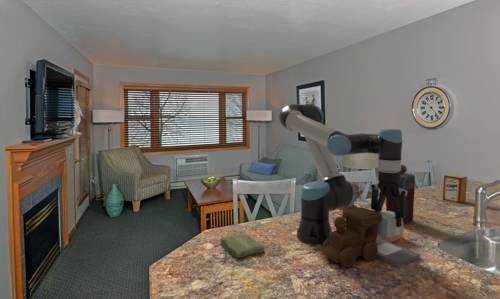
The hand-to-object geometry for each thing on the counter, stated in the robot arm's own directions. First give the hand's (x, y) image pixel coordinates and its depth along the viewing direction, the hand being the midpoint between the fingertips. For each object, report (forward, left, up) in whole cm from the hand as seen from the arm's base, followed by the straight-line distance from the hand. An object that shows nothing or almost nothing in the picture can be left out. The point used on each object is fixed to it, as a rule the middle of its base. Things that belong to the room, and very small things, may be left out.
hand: (387, 231), depth 107 cm
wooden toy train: (-15, +4, -8) cm, 18 cm away
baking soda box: (+99, +22, -8) cm, 102 cm away
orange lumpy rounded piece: (+24, +38, -8) cm, 46 cm away
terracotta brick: (+14, +8, -8) cm, 18 cm away
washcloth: (-45, +33, -9) cm, 56 cm away
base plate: (0, 0, -8) cm, 8 cm away
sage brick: (0, 0, 0) cm, 0 cm away
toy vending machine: (+37, +19, -8) cm, 43 cm away
